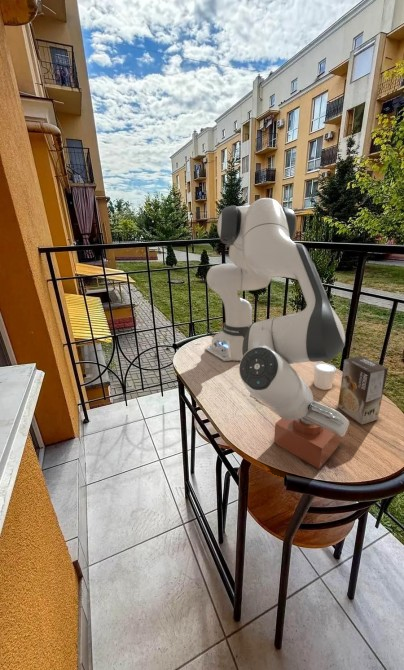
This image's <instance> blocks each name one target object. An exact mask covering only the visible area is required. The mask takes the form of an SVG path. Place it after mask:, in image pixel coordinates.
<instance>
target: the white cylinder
mask: <svg viewBox="0 0 404 670" xmlns="http://www.w3.org/2000/svg"><path fill="white" fill-rule="evenodd" d="M313 371H314V372H313V382H314V383H313V385H314V387H316V389H320V390H325V391H326V390H330V389H332V388H333V384H334V381H335V376H336V373H337V368H336V366H335V365H333V364H330V363H328V362H318V363H315V364H314V367H313Z"/></svg>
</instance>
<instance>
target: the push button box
mask: <svg viewBox="0 0 404 670" xmlns="http://www.w3.org/2000/svg"><path fill="white" fill-rule="evenodd" d="M340 438H341V436H338V435H336V434H334V433H331V432H329V431H327V430H325V429H323V428H321V427H319V426H317V425H315V424H313V425H310V424H306V423H304V422H301V420H300V419H298V420H285V419H283V418H281V417H280V419H279V420H278V421H276V422H275V423H274V438H273V443H274V444H276V445H278V446H279V447H281V448H282V449H284V450H286V451H288V452H289V453H291V454H293V455H295V456H296V457H298V458H299V459H301V460H303V461H304V462H306V463H308V464H309V465H311V466H313V467H315V469H318V470H320V469H321V468H322V466H323V465H324V464H325V463H326V462H327V461H328V460H329V458H330V457H331V456H332V455H333V453H335V451H336V450H337V449H338V448H339V445H340Z"/></svg>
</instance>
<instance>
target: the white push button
mask: <svg viewBox="0 0 404 670" xmlns="http://www.w3.org/2000/svg"><path fill="white" fill-rule="evenodd" d="M300 420H301V422H304V423H306V424H310V425H313V423H311V422H309V421H307V420H304V419H302V418H301V419H300Z"/></svg>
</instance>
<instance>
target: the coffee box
mask: <svg viewBox="0 0 404 670" xmlns="http://www.w3.org/2000/svg"><path fill="white" fill-rule="evenodd" d="M388 371H389V368H388V367H386V366H384V365H382V364H379V363H377V362H375V361H373V360H371V359H369V358H367V357H364V356H362V355H357V356H353V357H352V356H351V357H349V358H346V359H344V360H343V368H342V375H341V382H340V388H339V389H340V390H339V395H338V403H337V408H338V409H339V410H341V411H342V412H343V413H345V414H346V415H348V416H349V417H351V418H352V419H353V420H355V421H356V422H357V423H359V424H360V425H365V424H368V423H371V422H374V421H378V420H379V415H380V409H381V404H382V401H383V400H382V399H383V396H384V391H385V385H386V382H387V381H386V380H387V377H388V376H387V375H388Z"/></svg>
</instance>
